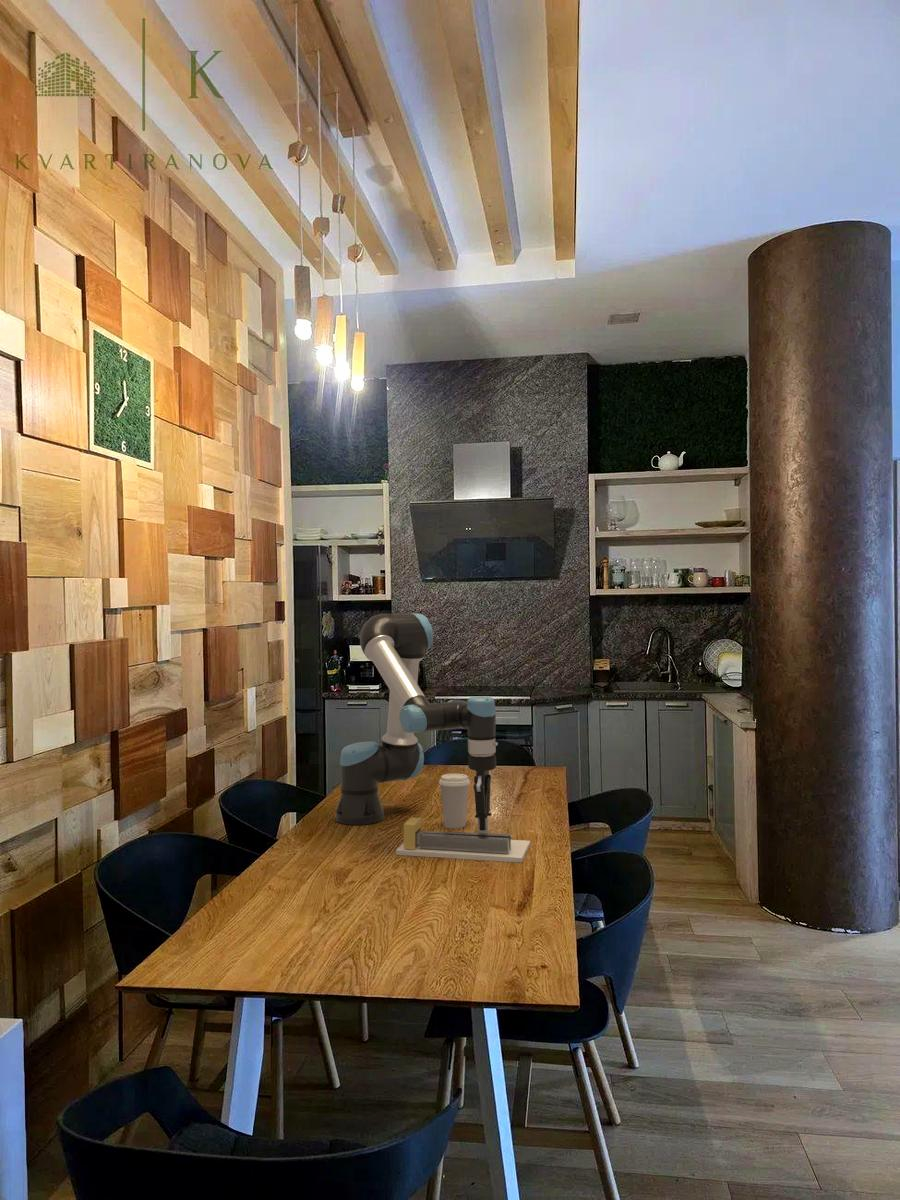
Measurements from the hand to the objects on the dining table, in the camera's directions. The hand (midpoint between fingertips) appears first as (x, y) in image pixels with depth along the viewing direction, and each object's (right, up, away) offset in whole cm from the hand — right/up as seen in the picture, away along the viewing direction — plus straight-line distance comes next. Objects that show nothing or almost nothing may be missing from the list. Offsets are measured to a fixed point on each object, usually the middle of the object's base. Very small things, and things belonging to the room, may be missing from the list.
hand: (483, 840), depth 227 cm
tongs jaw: (-5, -1, -1) cm, 5 cm away
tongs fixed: (-7, -1, -2) cm, 8 cm away
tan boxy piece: (-19, -1, +1) cm, 19 cm away
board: (-5, -3, +1) cm, 6 cm away
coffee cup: (-8, -3, +26) cm, 27 cm away
